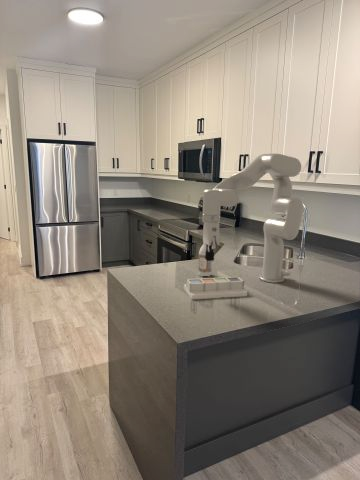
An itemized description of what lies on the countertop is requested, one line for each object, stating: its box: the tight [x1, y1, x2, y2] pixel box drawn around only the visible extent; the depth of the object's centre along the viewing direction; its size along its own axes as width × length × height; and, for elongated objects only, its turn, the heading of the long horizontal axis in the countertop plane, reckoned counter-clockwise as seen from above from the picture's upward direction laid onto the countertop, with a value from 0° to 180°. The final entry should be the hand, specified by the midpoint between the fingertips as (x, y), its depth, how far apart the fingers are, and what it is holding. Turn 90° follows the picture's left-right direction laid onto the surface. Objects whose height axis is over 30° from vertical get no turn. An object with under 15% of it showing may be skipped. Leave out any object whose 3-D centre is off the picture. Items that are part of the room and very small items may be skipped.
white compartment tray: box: [183, 276, 248, 300], centre depth 147 cm, size 25×14×6 cm, turn 102°
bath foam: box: [197, 241, 213, 277], centre depth 170 cm, size 7×7×20 cm
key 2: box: [215, 279, 227, 282], centre depth 147 cm, size 4×4×2 cm
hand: (209, 259), depth 144 cm, fingers closed
